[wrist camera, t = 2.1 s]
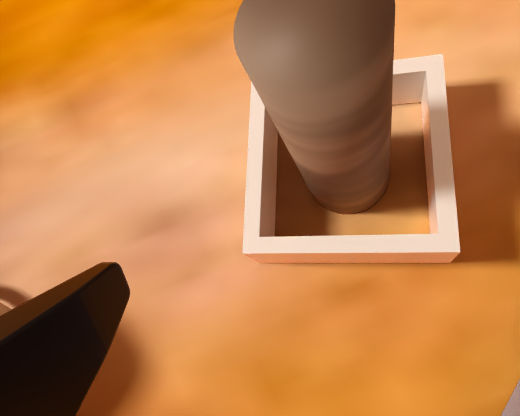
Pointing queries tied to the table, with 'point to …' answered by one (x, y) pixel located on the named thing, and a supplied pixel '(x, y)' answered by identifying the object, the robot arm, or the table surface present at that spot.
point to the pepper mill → (326, 90)
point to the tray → (513, 403)
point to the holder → (360, 246)
